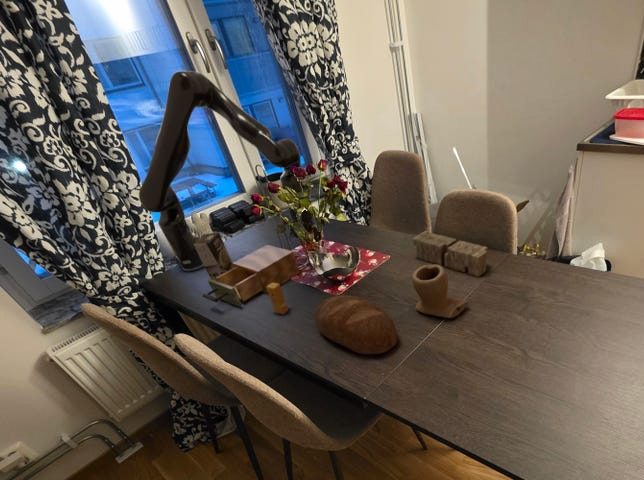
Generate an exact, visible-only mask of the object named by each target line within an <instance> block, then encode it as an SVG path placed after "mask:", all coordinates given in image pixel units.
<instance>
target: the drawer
mask: <svg viewBox="0 0 644 480" xmlns="http://www.w3.org/2000/svg"><path fill="white" fill-rule="evenodd" d="M216 280H217V281H215V280H212V279H210V278H209V279H207V282H208V284H209V286H210V288H211V291H209V292H207V293H205V292H204V293H203V294H202V297H203V298H204V299H207V300H209V301H211V302H214V303H219V300H222V301H224V302H227V303H229V304H232V305H234V306H237V307H241V306H242V305H243V304H242V302H245V301H247V300H249V299H250V298H251V297H253V296H256V294H258V293H260V292H262V291H261V290H263V289H264V288H263V286H262V283H261V281H260V278H259V276H258V273H255V272H252V271H249V270H246V269H243V268H240V267H235V268H233V269H231V270H229V271H228V272H226V273H224V274H222V275H220V276H218V277H216ZM212 294H213V295H214V296H212Z"/></svg>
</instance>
